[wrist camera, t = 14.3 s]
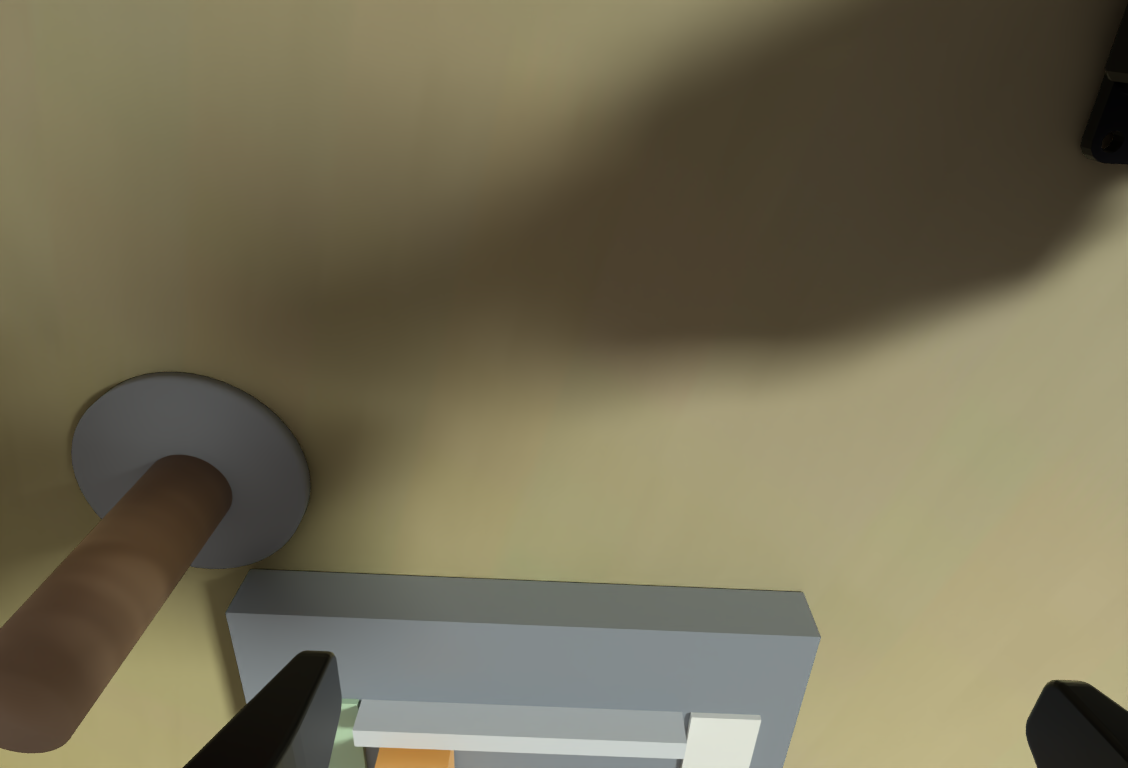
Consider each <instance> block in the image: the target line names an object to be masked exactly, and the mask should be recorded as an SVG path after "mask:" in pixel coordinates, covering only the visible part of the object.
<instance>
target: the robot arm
mask: <svg viewBox="0 0 1128 768" xmlns="http://www.w3.org/2000/svg"><path fill="white" fill-rule="evenodd" d="M1105 71H1106V73H1105V76H1104V79H1103V82H1102V84H1101V87H1100V90H1099V93H1098V95H1097V98H1096V101H1095V104H1094V106H1093V109H1092V112H1091V115H1090V117H1089V120H1088V123H1087V126H1086V128H1085V131H1084V134H1083V137H1082V141H1081V150H1082V153H1083V154H1084V155H1085V156H1086V157H1087V158H1088V159H1092V160H1095V161H1098V162H1102V163H1110V164H1128V5H1127V8H1126V10H1125V13H1124V16H1123V19H1122V21H1121V24H1120V27H1119V30H1118V32H1117V35H1116V38H1115V41H1114V44H1113V46H1112V49H1111V52H1110V55H1109V57H1108V60H1107V63H1106V66H1105ZM1110 132H1112V133H1113V140H1112V141H1111V143H1110V144H1109V146H1107V147H1106V148H1104V149H1102V141H1103V139H1104V138H1105V136H1106V135H1108V134H1109V133H1110ZM341 706H342V694H341V687H340V680H339V673H338V666H337V659H336V656H335V655H334V653H333V652H330V651H312V650H306V651H302V652H300V653H298V654H297V655H296V656H295V657H294V658H293V659H292V660H291V661H290V662H289V663H288V664H287V665H286V666H285V667H284V668H283V669H282V670H281V671H280V672H279V673H278V674H277V675H276V676H275V677H274V678H273V679H272V680H271V681H270V682H268V683H267V684H266V685H265V686H264V687H263V688H262V689H261V690H260V691H259V692H258V693H257V694H256V695H255V696H254V697H253V698H252V699H251V700H250V701H249V702H248V703H247V704H246V705H245V706H244V707H243V708H242V709H241V710H240V711H239V712H238V713H237V714H236V715H235V716H234V717H233V718H232V719H231V720H230V721H229V722H228V723H227V724H226V725H225V726H224V727H223V728H222V729H221V730H220V731H219V732H218V733H217V734H216V735H215V736H214V737H213V738H212V739H211V740H210V741H209V742H208V743H207V744H206V745H205V746H204V747H203V748H202V749H201V750H200V751H199V752H198V753H197V754H196V755H195V756H194V757H193V758H192V759H191V760H190V761H189V762H188V763H187V764H186V765H185V766H184V767H183V768H329V763H330V759H331V754H332V750H333V745H334V741H335V736H336V732H337V727H338V723H339V718H340V713H341ZM1026 736H1027V741H1028V744H1029V747H1030V750H1031V752H1032V755H1033V757H1034V760H1035V763H1036V765H1037V768H1128V711H1127V710H1125V709H1124V708H1123V707H1121V706H1120V705H1118V704H1117V703H1116V702H1114V701H1113V700H1111V699H1110V698H1109V697H1107V696H1106V695H1104V694H1103V693H1102V692H1100V691H1099V690H1097V689H1096V688H1095V687H1093V686H1092V685H1090V684H1088V683H1086V682H1082V681H1072V680H1052V681H1050V682H1048V683H1047V684H1046V685H1045V687H1044V688H1043V690H1042V692H1041V694H1040V696H1039V698H1038V700H1037V702H1036V704H1035V706H1034V708H1033V710H1032V712H1031V714H1030V715H1029V717H1028V720H1027V723H1026Z"/></svg>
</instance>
